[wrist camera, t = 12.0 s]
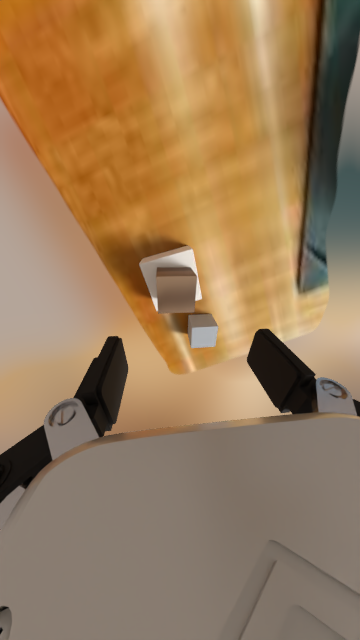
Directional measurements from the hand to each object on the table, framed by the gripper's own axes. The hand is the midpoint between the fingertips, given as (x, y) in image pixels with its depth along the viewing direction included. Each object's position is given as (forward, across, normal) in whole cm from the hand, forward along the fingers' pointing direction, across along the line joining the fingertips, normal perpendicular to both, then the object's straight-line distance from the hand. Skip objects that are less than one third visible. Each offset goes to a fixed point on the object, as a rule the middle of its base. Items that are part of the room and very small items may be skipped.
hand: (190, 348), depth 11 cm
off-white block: (+20, 0, 0) cm, 21 cm away
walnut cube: (+16, 0, 0) cm, 16 cm away
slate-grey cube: (+20, -6, +11) cm, 24 cm away
